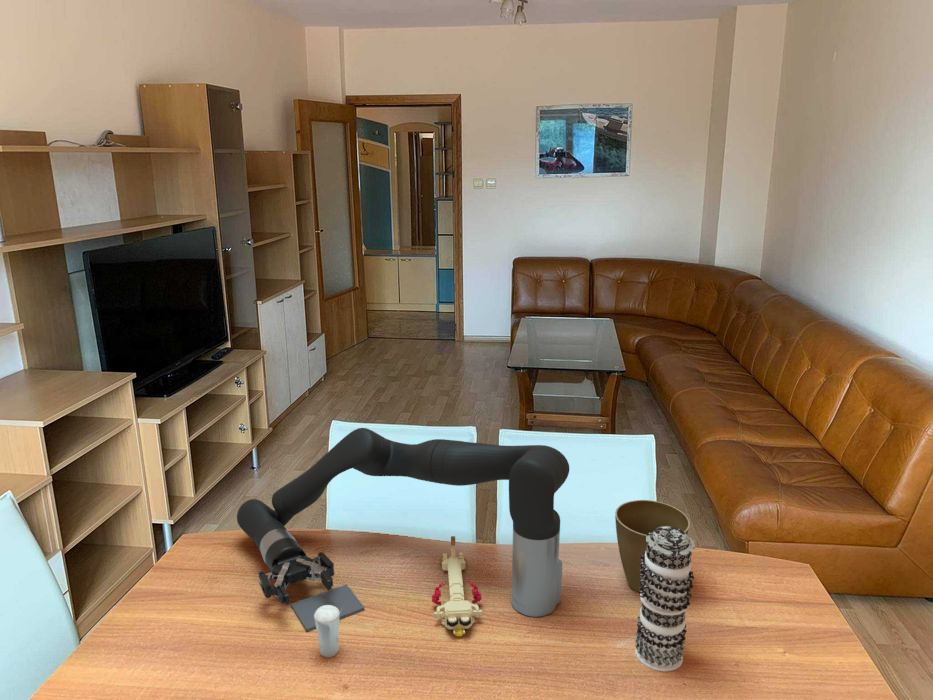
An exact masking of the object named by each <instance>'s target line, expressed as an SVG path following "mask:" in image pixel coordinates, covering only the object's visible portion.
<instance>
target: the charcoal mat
mask: <svg viewBox="0 0 933 700" xmlns="http://www.w3.org/2000/svg"><path fill="white" fill-rule="evenodd" d="M323 605H332V606H335V607H337V608H338V609H339V612H340V611H341V612H340V616H339V621H340V620H342V619H345V618H348V617H350V616H353V615H355V614H357V613H360V612H364V611H365V606H364V605H363V604H362V602H361V601H360V600H359V599H358V597H357V596H356V595H355V593H354V592H353V591H352V589H351V588H350V587H349V585H348V584H343V585H341V586H337V587H335V588H332V589H331V590H326V591H324V592H321V593H318V594H315V595H312V596H309V597H306V598H304V599H301V600H299V601H296V602H293V603H291V604H290V607H291V609H292V610H293V612H294V614H295V615H296V617H297V619H298V620H299V622H300V623H301V626H302V627H303V628H304V629H305V632H306V633H308V632H310V631H313V630H317V629H316V625H315V620H314V614H315V612H316V610H317V609H318V608H319V607H321V606H323ZM342 606H343V607H342ZM341 609H342V610H341Z"/></svg>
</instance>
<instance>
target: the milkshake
mask: <svg viewBox="0 0 933 700" xmlns="http://www.w3.org/2000/svg"><path fill="white" fill-rule="evenodd" d="M342 607H343V606H342ZM341 610H342V609H341ZM340 612H341V611H340ZM340 612H339V609H338V608H337V607H335V606H332V605H323V606H321V607H319V608H318V609H317V610H316V612H315V614H314V620H315V625H316V629H315V630H316V634H317V639H318V644H319V645H318V646H319V652H320V656H322V657H324V658H332V657H334V656H337V654H338V652H339V643H340V642H339V637H340V636H339V635H340V632H339V631H340V630H339V629H340V620H339V616H340Z"/></svg>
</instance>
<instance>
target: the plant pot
mask: <svg viewBox="0 0 933 700" xmlns="http://www.w3.org/2000/svg"><path fill="white" fill-rule="evenodd" d="M614 513H615V516H614V517H615V519H614V520H615V531H616V540H617V546H618V551H619V558H620V560H621V561H620V562H621V565H622V569H623V573H624V576H625V579H626V581H627V584H628V586H629V587H630V588H631V589H632V590H634V591H636V592H637V593H640V591H641V590H640V586H641V585H640V580H641V577H640V574H641V572H640V569H641V567H640V564H641V562H642V561H641V556H643V553H644V552H645V551H646V549H647V542H646V536H647V535H648V534H649V532H652V531H654V530H655V529H657V528H659V527H664V526H669V527H675V528H678V529H680V530H682V531H684V532H685V533H686V534H687V535H688V533H689V531H690V527H691V523H690V519H689V518H688V516H687V514H685V513H684V512H683V511H681V510H680V509H678V508H677V507H675V506H672V505H671V504H668V503H665V502H661V501H657V500H652V499H651V500H650V499H638V500H629V501H626V502H623V503H622V504H620V505H618V507H616V509H615V512H614Z"/></svg>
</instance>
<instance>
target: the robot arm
mask: <svg viewBox="0 0 933 700" xmlns="http://www.w3.org/2000/svg"><path fill="white" fill-rule="evenodd" d="M351 469H354V470H355V471H358V472H360V473H362V474H363V475H366V476H371V477H404V478H405V477H406V478H412V479H415V480H419V481H423V482H428V483H434V484H440V485H441V484H442V485H446V486H456V487H457V486H461V487H462V486H472V485H478V484H482V483H489V482H493V481H503V480H504V481H508V507H509V515H510V518H511V520H512V549H511V550H512V555H511V556H512V557H511V595H510V596H511V597H510V598H511V599H510V600H511V601H510V602H511V605H512V607H513V608H514V610H516V611H517V612H518V613H520V614H522V615H525V616H527V617H536V618H537V617H545V616H548V615H549V614H552V613H553V612H554V611H555V610H556V608H557V605H559V604H560V603H561V601H562V599H561V598H562V582H563V581H562V580H563V578H562V577H563V561H562V560H561V559H560V538H561V537H560V535H561V516H560V514H559V513H558V511H556V510H555V509H554V507H555V493H557V491H558V490H559V489H560V488H562V486H563V485H564V484H565V482H566V480H567V479H568V477H569V474H570V464H569V462H568V459H567V458H566V456H565V455H564V454H563V453H562V452H561V451H559V450H558V449H557V448H554V447H552V446H550V445H549V446H548V445H543V444H534V445H533V444H530V445H529V444H528V445H525V444H524V445H500V444H491V443H482V442H470V441H463V440H455V439H453V440H451V439H442V438H439V439H437V438H436V439H429V440H426V441H423V442H420V443H417V444H416V443H415V444H413V443H412V444H411V443H404V442H398V441H393V440H391V439H388V438H386V437H384V436H382V435H381V434H379V433H377V432H376V431H373V430H371V429H369V428H366V427H359V428H356V429H353V430H352V431H351V432H349V433H348V434H347V435H345V436H344V437H343V438H342V439H341V440H339V441H338V442H337V443H336V444H335V445H334V446H333V447H332V448H331V449H330V450H328V452H326V453H325V454H324V455H323V456H322V457H320V459H318V460H317V461H316V462H315V463H314V464H313V465H312V466H311V467H309V468H308V469H307V470H305V472H302V474H300V475H299V476H297V477H295V478H294V479H292V480H291V481H289V482H288V483H286V484H285V485H283V486H282V487H280V488H278V489H277V490H276V491H275V492H273V494H272V497H271V504H272V505H271V506H272V507H273V509H272V508H271V507H270V506H268V505H267V504H266V503H264V502H263V501H261V500H260V499H257V498H256V499H255V498H253V499H252V498H251V499H248V500H246V501H244V502H243V503H242V504H241V505H240V506H239V508H238V509H237V514H236V522H237V525H238V526H239V527H240V529H241V530H242V531H243V532H244V533H245V534H246V535H247V536H248V537H249V538H250V539H251V540H252V541H253V543H255V545H256V547H257V549H258V551H260V555H261V556H262V559H263V561H264V563H265V564H266V565H267V567H268V569H269V571H270V572H267V573H266V572H265V571H264V570H263V571H259V572H258V573H257V575H258V581H259V586H260V589H261V590H262V593H263V596H264V597H265V598H266V599H270V598H271V597H272V596H275V597H276V598H277V600H279V602H280V604H282V605H285V606H288V605H291V604H290V595H289V593H288V592H287V588H288V586H289V585H290V584H291V585H292V584H296V583H297V582H300V581H301V582H302V581H304V580H309V581H315V580H318V581H321V582H322V584H323V585H324V587H325V588H326V591H329V590H332V589H333V588H332V587H334V582H333V577H334V576H335V568H334V567H335V563H334V562H333V561H332V560H331V559H330V558H329V557H328V556H327V555H326V554H325V553H324V552H323V551H321V552H318V553H317V556H316V557H313V558H312V557H310V556H307V554H306V552H305V550H304V549H303V547H302V546H301V545H300V543H299V542H298V541H297V540H296V538H295V537H294V536H293V535H292V533H290V531H288V530H287V528H286V527H285V526H286V525H287V524H288V523H289V522H290V521H291V520H292V519H293V518H294V516H296V515H298V514H299V513H301V512H302V511H304V510H305V509H307V508H309V507H310V506H312V505H313V504H314V503H316V502H317V501H318V499H320V498H321V496H322V495H323V494H324V492H325V490H326V489H327V487H328V485H329V484H330V482H331V481H332V480H333V479H334V478H336V477H337V476H338V475H340V474H342V473H343V472H346V471H348V470H351ZM319 572H320V573H319ZM271 580H274V581H275V582H274V585H273V584H272V585H271Z"/></svg>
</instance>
